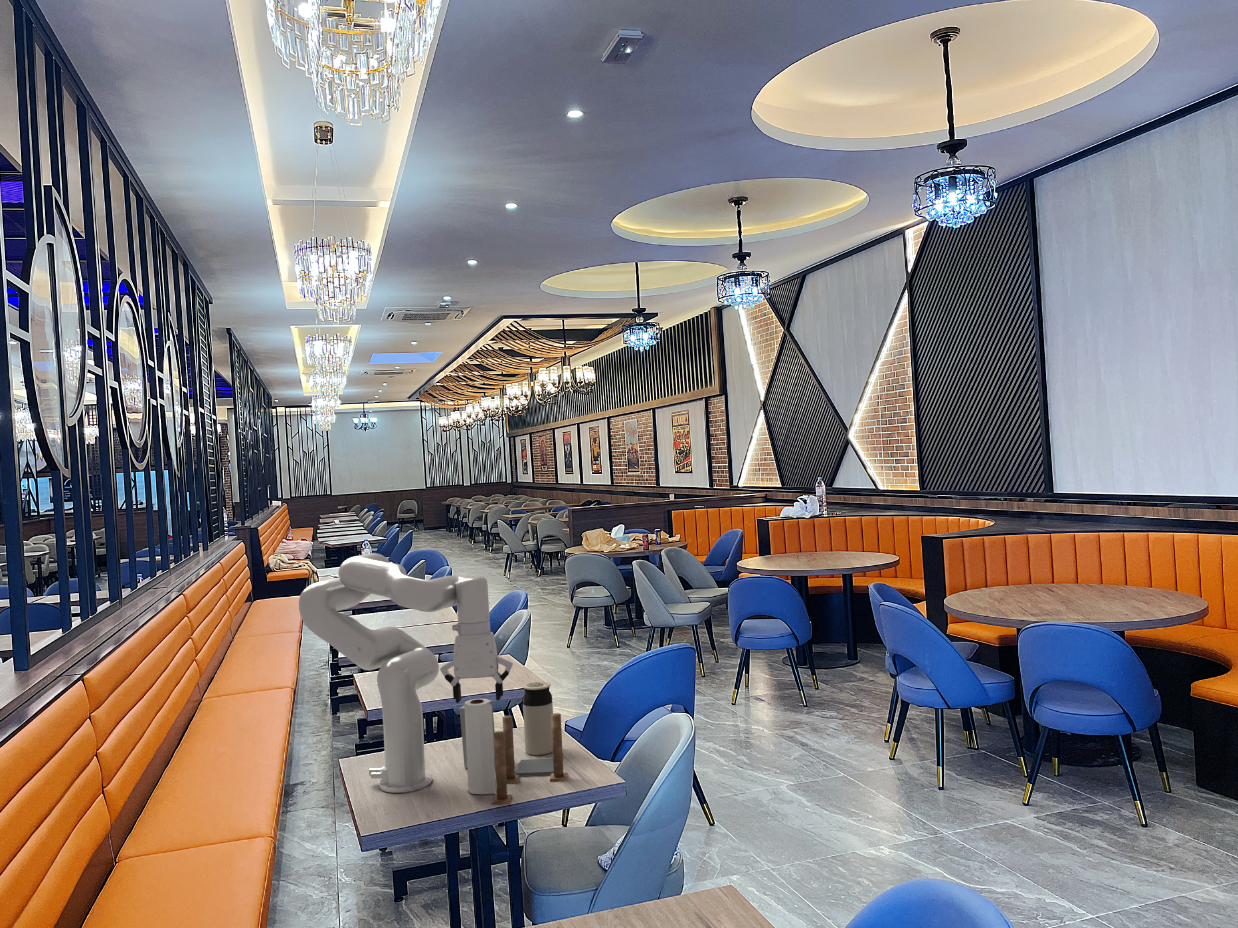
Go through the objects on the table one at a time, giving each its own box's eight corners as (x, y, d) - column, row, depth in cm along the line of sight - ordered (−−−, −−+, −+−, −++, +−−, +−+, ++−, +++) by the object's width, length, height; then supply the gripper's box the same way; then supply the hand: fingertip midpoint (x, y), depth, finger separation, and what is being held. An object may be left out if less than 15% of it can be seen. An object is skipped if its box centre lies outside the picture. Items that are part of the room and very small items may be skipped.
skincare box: (487, 769, 219) (484, 707, 219) (460, 768, 220) (458, 707, 221) (498, 758, 227) (495, 698, 227) (472, 757, 229) (470, 698, 229)
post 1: (492, 804, 195) (489, 735, 195) (495, 797, 199) (491, 730, 199) (509, 803, 195) (506, 735, 195) (512, 796, 199) (508, 729, 199)
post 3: (550, 781, 208) (546, 717, 208) (551, 775, 212) (548, 712, 212) (566, 780, 208) (563, 716, 208) (567, 774, 212) (564, 711, 212)
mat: (515, 776, 213) (515, 773, 213) (521, 762, 223) (520, 759, 223) (555, 774, 212) (555, 771, 212) (559, 760, 222) (559, 757, 222)
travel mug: (527, 757, 227) (524, 689, 227) (523, 748, 234) (520, 682, 235) (557, 753, 229) (553, 686, 229) (552, 744, 236) (548, 679, 237)
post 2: (501, 783, 208) (498, 719, 208) (503, 777, 212) (500, 714, 212) (517, 782, 208) (514, 718, 208) (519, 776, 212) (516, 714, 212)
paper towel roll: (467, 787, 206) (463, 699, 207) (492, 784, 208) (488, 696, 208) (470, 798, 199) (465, 706, 200) (496, 794, 201) (491, 703, 201)
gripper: (434, 633, 200) (439, 706, 200) (508, 629, 200) (512, 702, 200) (441, 627, 208) (446, 698, 208) (512, 623, 208) (516, 694, 207)
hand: (478, 700), depth 204 cm, fingers open, 9 cm apart
